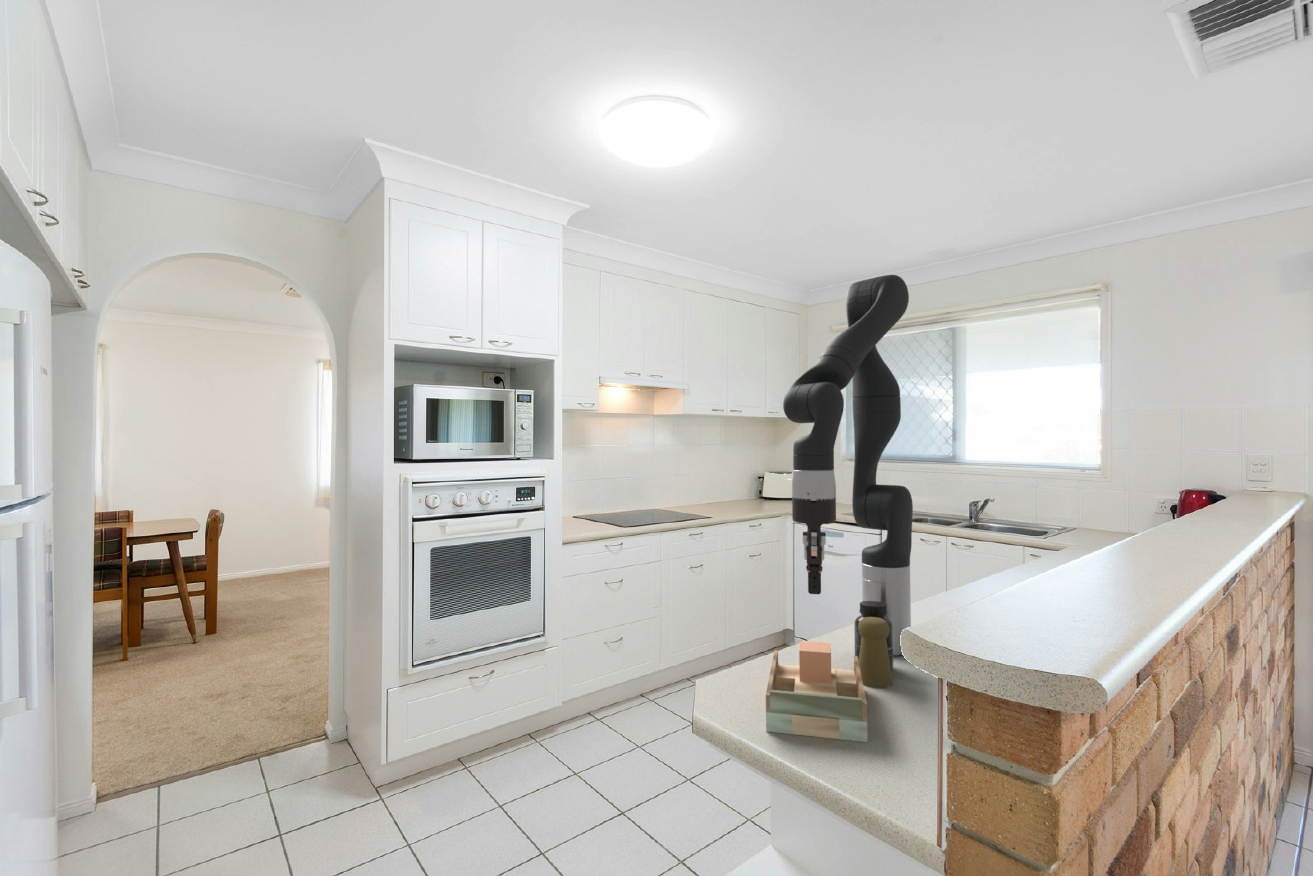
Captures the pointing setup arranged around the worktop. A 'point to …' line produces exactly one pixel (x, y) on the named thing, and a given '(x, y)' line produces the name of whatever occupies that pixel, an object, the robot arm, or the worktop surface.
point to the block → (815, 662)
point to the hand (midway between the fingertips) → (814, 593)
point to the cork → (874, 653)
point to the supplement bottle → (880, 612)
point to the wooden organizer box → (816, 703)
